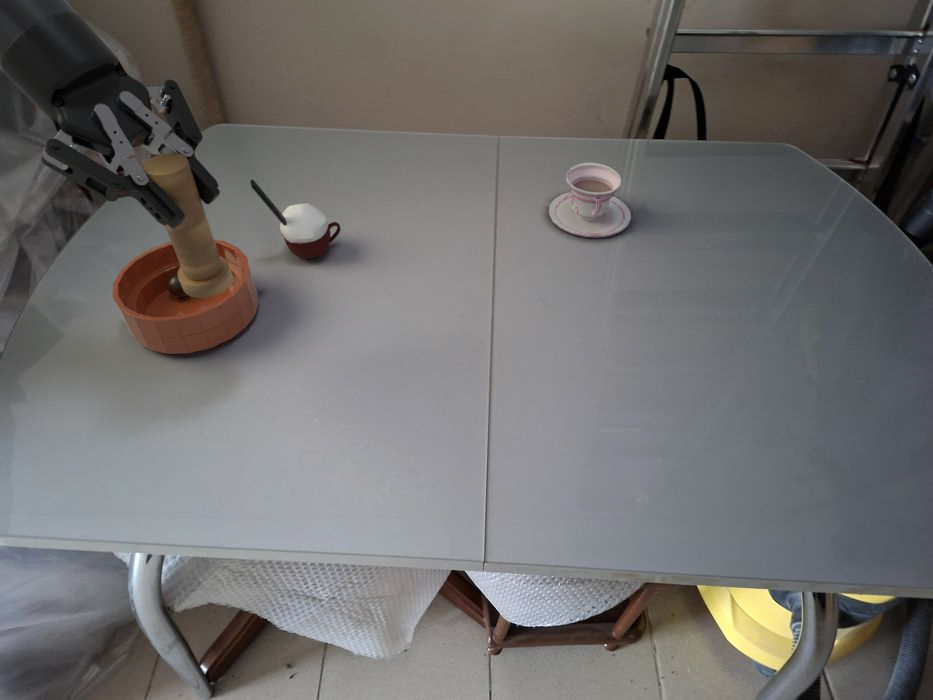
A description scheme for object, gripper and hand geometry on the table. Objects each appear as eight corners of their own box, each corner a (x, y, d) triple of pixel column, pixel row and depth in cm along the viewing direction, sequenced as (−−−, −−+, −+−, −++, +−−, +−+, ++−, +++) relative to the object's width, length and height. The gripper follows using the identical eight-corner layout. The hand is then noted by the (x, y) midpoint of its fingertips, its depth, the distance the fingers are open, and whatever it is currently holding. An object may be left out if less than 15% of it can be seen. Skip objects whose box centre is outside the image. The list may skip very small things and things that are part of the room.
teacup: (543, 194, 101) (547, 157, 96) (620, 192, 101) (627, 155, 97) (554, 240, 92) (559, 202, 88) (639, 238, 93) (647, 200, 88)
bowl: (158, 378, 74) (140, 340, 69) (113, 307, 82) (94, 269, 78) (281, 321, 80) (271, 283, 76) (228, 261, 89) (216, 224, 84)
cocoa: (344, 238, 92) (332, 161, 84) (337, 266, 88) (324, 187, 79) (277, 237, 92) (258, 160, 84) (267, 265, 88) (246, 186, 80)
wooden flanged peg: (194, 305, 62) (147, 185, 53) (174, 279, 65) (127, 161, 56) (241, 285, 64) (204, 166, 55) (220, 261, 67) (182, 143, 58)
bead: (176, 306, 81) (169, 287, 79) (167, 293, 83) (159, 275, 80) (200, 296, 82) (193, 277, 80) (190, 284, 84) (183, 265, 82)
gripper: (-40, 44, 46) (148, 236, 50) (121, -15, 54) (267, 154, 59) (-46, 101, 51) (123, 270, 56) (100, 39, 60) (236, 190, 65)
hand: (196, 209), depth 58 cm, fingers closed on wooden flanged peg, 3 cm apart
